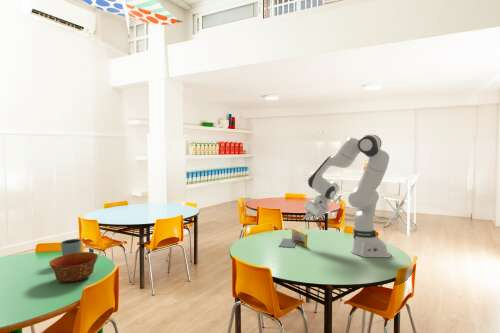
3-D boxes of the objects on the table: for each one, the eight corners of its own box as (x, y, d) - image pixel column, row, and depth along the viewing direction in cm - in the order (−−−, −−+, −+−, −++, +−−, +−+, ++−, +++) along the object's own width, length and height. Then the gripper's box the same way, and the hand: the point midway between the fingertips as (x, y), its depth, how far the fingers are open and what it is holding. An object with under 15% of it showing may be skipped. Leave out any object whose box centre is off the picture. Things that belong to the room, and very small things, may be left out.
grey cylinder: (85, 261, 185) (85, 240, 185) (68, 266, 177) (67, 244, 176) (75, 258, 190) (74, 238, 190) (57, 263, 182) (56, 242, 181)
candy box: (291, 240, 226) (291, 228, 225) (293, 239, 227) (294, 228, 226) (304, 247, 211) (305, 234, 211) (307, 246, 212) (308, 234, 212)
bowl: (71, 290, 146) (71, 268, 145) (39, 283, 154) (38, 262, 153) (108, 274, 165) (107, 254, 165) (77, 268, 173) (76, 250, 173)
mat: (297, 239, 229) (297, 239, 229) (294, 247, 210) (294, 247, 210) (283, 239, 231) (283, 238, 231) (279, 246, 212) (279, 246, 212)
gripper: (309, 195, 225) (296, 210, 225) (324, 204, 206) (309, 220, 205) (315, 200, 227) (302, 215, 227) (330, 210, 208) (316, 226, 207)
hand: (306, 217), depth 216 cm, fingers closed
